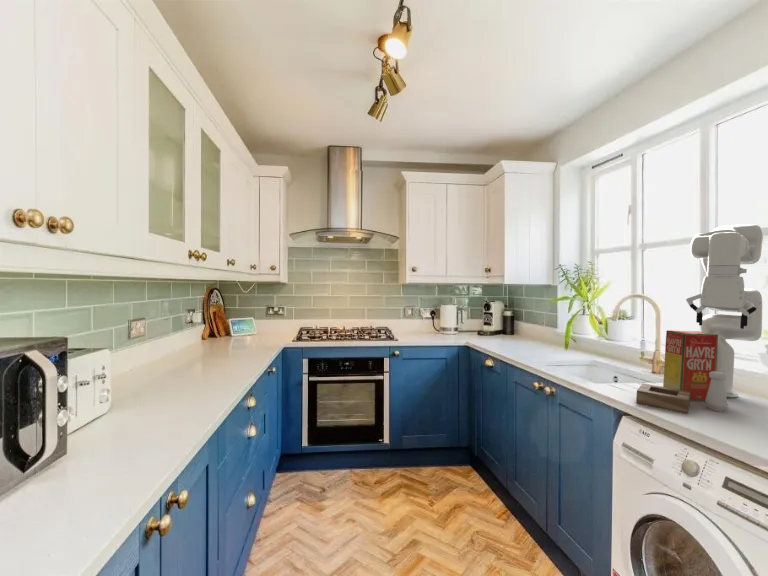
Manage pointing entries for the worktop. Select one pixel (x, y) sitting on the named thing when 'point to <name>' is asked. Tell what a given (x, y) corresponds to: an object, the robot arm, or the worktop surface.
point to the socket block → (663, 398)
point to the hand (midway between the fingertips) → (720, 326)
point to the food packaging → (690, 361)
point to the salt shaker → (716, 392)
